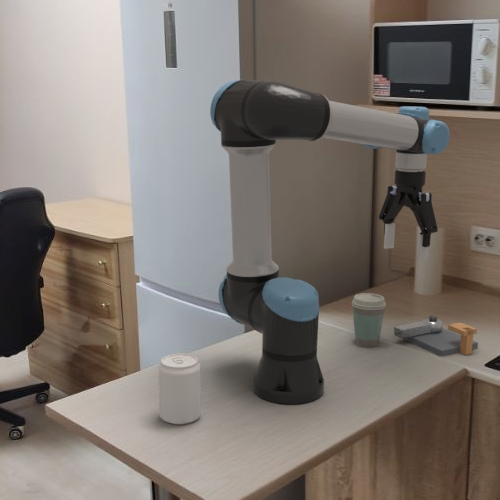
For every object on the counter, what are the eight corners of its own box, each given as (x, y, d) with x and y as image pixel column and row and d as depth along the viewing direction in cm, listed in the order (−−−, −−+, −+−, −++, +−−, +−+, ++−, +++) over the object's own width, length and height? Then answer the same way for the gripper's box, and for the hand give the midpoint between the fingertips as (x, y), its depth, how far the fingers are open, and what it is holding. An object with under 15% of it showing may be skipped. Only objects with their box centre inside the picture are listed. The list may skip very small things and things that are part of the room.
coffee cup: (383, 350, 189) (386, 303, 186) (348, 347, 190) (350, 301, 187) (384, 338, 197) (387, 293, 194) (351, 335, 198) (353, 291, 195)
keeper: (462, 355, 186) (464, 331, 184) (446, 348, 190) (448, 324, 189) (474, 353, 187) (476, 328, 186) (458, 345, 192) (460, 322, 191)
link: (432, 325, 202) (433, 313, 201) (445, 330, 197) (446, 318, 197) (391, 333, 195) (392, 321, 194) (404, 339, 191) (404, 326, 190)
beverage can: (166, 429, 146) (165, 370, 143) (154, 412, 153) (153, 355, 151) (206, 422, 149) (206, 364, 147) (192, 405, 157) (192, 350, 154)
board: (441, 356, 185) (441, 350, 184) (400, 337, 197) (400, 332, 197) (477, 348, 191) (477, 342, 190) (435, 330, 203) (435, 324, 203)
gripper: (457, 175, 182) (450, 262, 187) (390, 163, 203) (386, 242, 208) (433, 176, 179) (426, 266, 184) (368, 164, 199) (363, 245, 204)
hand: (405, 253), depth 196 cm, fingers open, 12 cm apart
